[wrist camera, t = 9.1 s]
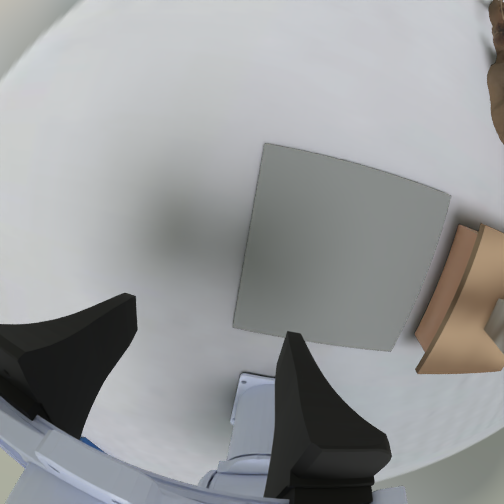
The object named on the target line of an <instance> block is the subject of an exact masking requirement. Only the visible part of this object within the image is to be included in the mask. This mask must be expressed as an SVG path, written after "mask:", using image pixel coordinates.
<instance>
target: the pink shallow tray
mask: <svg viewBox="0 0 504 504" xmlns="http://www.w3.org/2000/svg"><path fill="white" fill-rule="evenodd" d="M477 234H478V231H476V230H473V229H471V228H468V227H466V226H463V225H460V224H459V225H458V228H457V231H456V234H455V238H454V241H453V244H452V247H451V250H450V253H449V256H448V258H447V261H446V264H445V266H444V269H443V272H442V274H441V277H440V279H439V282H438V284H437V287H436V289H435V291H434V294H433V296H432V298H431V301H430V303H429V305H428V307H427V309H426V312H425V314H424V316H423V318H422V320H421V322H420V324H419V326H418V328H417V330H416V332H415V336H416V337H417V339H418V341H419V343H420V344H421V346H422V348H423V350H424V351H425V352H426V351H427V349H428V347H429V345H430V344H431V342H432V340H433V338H434V336H435V334H436V333H437V331H438V329H439V327H440V325H441V323H442V321H443V319H444V317H445V315H446V313H447V311H448V309H449V307H450V304H451V302H452V300H453V298H454V296H455V293H456V291H457V289H458V286H459V284H460V282H461V279H462V277H463V274H464V272H465V269H466V266H467V264H468V261H469V258H470V256H471V253H472V250H473V247H474V244H475V241H476V238H477Z"/></svg>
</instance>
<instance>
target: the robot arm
mask: <svg viewBox="0 0 504 504" xmlns="http://www.w3.org/2000/svg"><path fill="white" fill-rule="evenodd" d="M137 330H138V328H137V314H136V296H134V295H131V294H127V293H123V294H120V295H118V296H115V297H113V298H111V299H108V300H106V301H104V302H102V303H99V304H97V305H95V306H92V307H90V308H87V309H85V310H82V311H80V312H77V313H75V314H72V315H69V316H65V317H62V318H58V319H54V320H49V321H44V322H39V323H31V324H16V325H15V324H0V447H1V448H2V449H3V450H4V451H5V452H6V453H8V454H9V455H10V456H11V457H12V458H13V459H15V460H16V461H17V462H18V463H19V464H20V465H22V466H23V467H24V468H25V470H24V471H23V473H22V475H21V476H20V478H19V480H18V481H17V483H16V485H15V486H14V488H13V490H12V491H11V493H10V495H9V497H8V499H7V500H6V502H5V504H408V502H407V496H406V491H405V487H404V486H398V487H392V488H385V489H380V490H376V491H374V492H372V489H371V486H372V485H374V475H375V474H376V473H378V472H379V471H380V470H381V469H382V468H384V467H385V466H386V465H387V464H388V462H389V461H390V460H391V457H392V455H391V450H390V445H389V441H388V439H387V436H386V434H385V433H383V432H382V431H380V430H379V429H377V428H376V427H374V426H373V425H371V424H370V423H368V422H367V421H366V420H364V419H363V418H362V417H361V416H359V415H358V414H357V413H356V412H355V411H354V410H353V409H351V408H350V407H349V406H348V405H347V404H346V403H345V402H344V401H343V400H342V398H341V397H340V396H339V395H338V394H337V393H336V392H335V390H334V389H333V388H332V387H331V385H330V384H329V383H328V381H327V380H326V378H325V377H324V375H323V374H322V372H321V371H320V369H319V367H318V366H317V364H316V362H315V360H314V359H313V357H312V355H311V353H310V351H309V349H308V347H307V345H306V343H305V341H304V339H303V336H302V335H301V333H296V332H291V331H287V333H286V337H285V340H284V343H283V346H282V350H281V353H280V356H279V359H278V362H277V368H276V376H275V379H274V378H269V377H263V376H257V375H252V374H247V373H243V374H241V375H240V379H239V383H238V388H237V392H236V397H235V401H234V406H233V410H232V415H231V419H230V424H232V425H234V426H233V431H232V436H231V440H230V445H229V450H228V455H227V460H226V461H219V465H218V469H217V470H211V471H209V472H208V473H207V474H206V475H205V476H204V477H202V479H201V480H200V482H199V484H198V486H196V485H192V484H188V483H184V482H181V481H177V480H174V479H171V478H167V477H164V476H161V475H158V474H155V473H152V472H149V471H147V470H144V469H141V468H138V467H136V466H133V465H131V464H128V463H126V462H123V461H121V460H119V459H116V458H114V457H112V456H110V455H108V454H105V453H103V452H101V451H99V450H97V449H95V448H93V447H91V446H89V445H87V444H85V443H83V442H81V441H80V437H81V434H82V431H83V428H84V425H85V422H86V419H87V417H88V414H89V412H90V409H91V407H92V405H93V403H94V401H95V398H96V396H97V394H98V392H99V390H100V388H101V387H102V385H103V383H104V381H105V379H106V378H107V376H108V375H109V373H110V372H111V371H112V369H113V368H114V366H115V365H116V364H117V362H118V361H119V359H120V358H121V357H122V355H123V354H124V352H125V351H126V350H127V348H128V347H129V345H130V343H131V342H132V340H133V338H134V336H135V334H136V332H137Z"/></svg>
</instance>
